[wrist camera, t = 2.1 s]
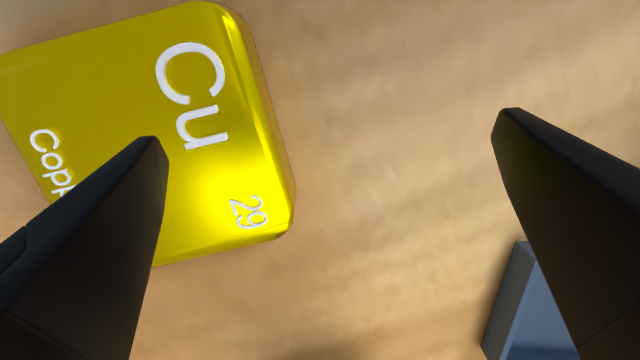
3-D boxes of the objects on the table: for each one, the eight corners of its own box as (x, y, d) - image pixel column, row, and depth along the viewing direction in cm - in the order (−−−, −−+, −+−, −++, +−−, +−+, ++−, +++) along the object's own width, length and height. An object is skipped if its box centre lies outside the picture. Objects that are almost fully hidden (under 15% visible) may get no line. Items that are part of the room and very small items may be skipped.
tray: (643, 356, 35) (670, 382, 32) (480, 346, 34) (494, 372, 31) (700, 254, 31) (736, 275, 28) (515, 241, 30) (535, 260, 27)
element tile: (22, 58, 24) (-45, 62, 19) (242, -2, 23) (225, -12, 18) (122, 249, 29) (87, 288, 24) (302, 207, 28) (301, 239, 24)
